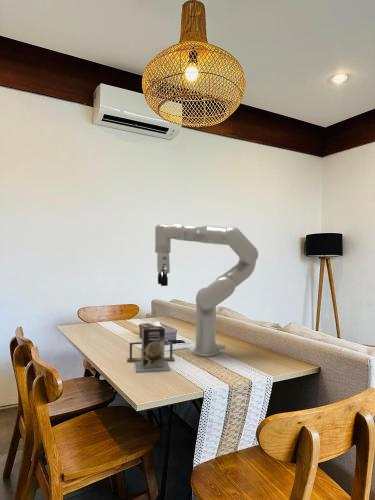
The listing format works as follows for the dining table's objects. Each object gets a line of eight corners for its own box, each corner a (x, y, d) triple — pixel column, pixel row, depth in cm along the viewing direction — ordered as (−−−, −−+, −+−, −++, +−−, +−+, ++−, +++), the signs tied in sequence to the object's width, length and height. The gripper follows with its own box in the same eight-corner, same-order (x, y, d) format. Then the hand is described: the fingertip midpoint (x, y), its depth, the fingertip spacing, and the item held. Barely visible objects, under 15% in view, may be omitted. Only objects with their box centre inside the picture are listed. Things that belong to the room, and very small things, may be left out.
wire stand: (174, 359, 157) (174, 341, 157) (174, 362, 153) (174, 343, 153) (127, 360, 155) (127, 341, 155) (126, 363, 152) (127, 344, 152)
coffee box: (142, 368, 142) (143, 329, 142) (141, 363, 149) (141, 326, 149) (164, 367, 145) (165, 328, 145) (161, 362, 151) (162, 325, 151)
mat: (167, 361, 153) (167, 360, 153) (170, 370, 142) (170, 369, 142) (135, 363, 151) (135, 361, 151) (136, 372, 139) (136, 371, 139)
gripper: (173, 249, 161) (173, 286, 161) (167, 250, 178) (167, 283, 178) (157, 249, 160) (157, 286, 160) (152, 249, 176) (152, 283, 176)
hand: (162, 284), depth 169 cm, fingers open, 9 cm apart
